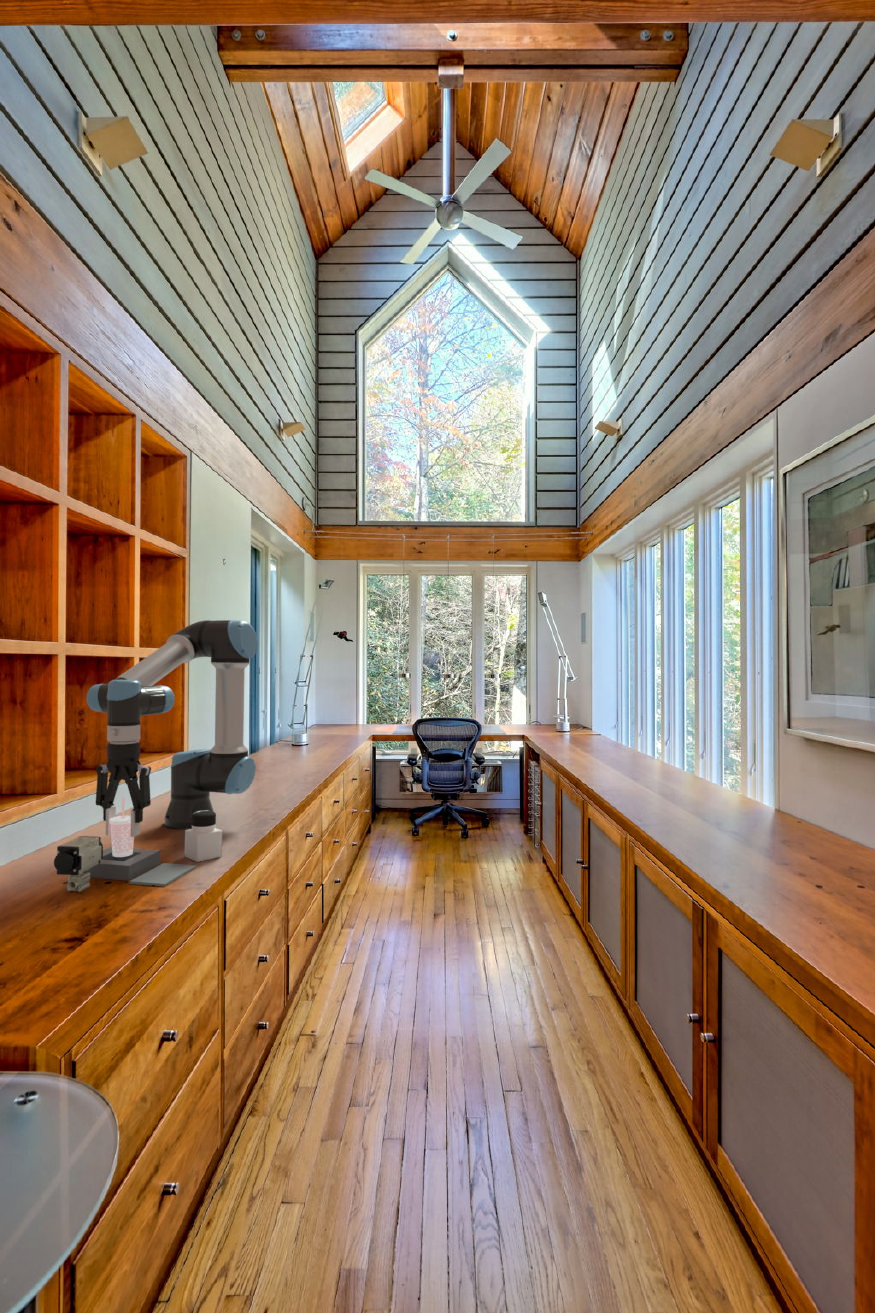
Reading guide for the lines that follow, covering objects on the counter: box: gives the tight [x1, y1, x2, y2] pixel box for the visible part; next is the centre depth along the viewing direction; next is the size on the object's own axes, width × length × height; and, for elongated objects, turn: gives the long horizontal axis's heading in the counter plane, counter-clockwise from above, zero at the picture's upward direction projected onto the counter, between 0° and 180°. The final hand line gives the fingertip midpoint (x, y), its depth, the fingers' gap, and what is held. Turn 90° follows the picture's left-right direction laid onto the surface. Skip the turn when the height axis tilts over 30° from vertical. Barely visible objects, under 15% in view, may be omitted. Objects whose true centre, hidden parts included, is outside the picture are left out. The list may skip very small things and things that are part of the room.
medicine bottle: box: [184, 810, 223, 863], centre depth 177 cm, size 7×7×12 cm
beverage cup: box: [109, 797, 135, 857], centre depth 166 cm, size 6×6×14 cm
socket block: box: [82, 846, 161, 881], centre depth 165 cm, size 13×14×4 cm
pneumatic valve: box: [53, 835, 104, 893], centre depth 152 cm, size 6×12×12 cm, turn 176°
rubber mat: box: [129, 862, 197, 887], centre depth 162 cm, size 14×9×1 cm, turn 171°
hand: (122, 834), depth 166 cm, fingers closed on beverage cup, 6 cm apart
